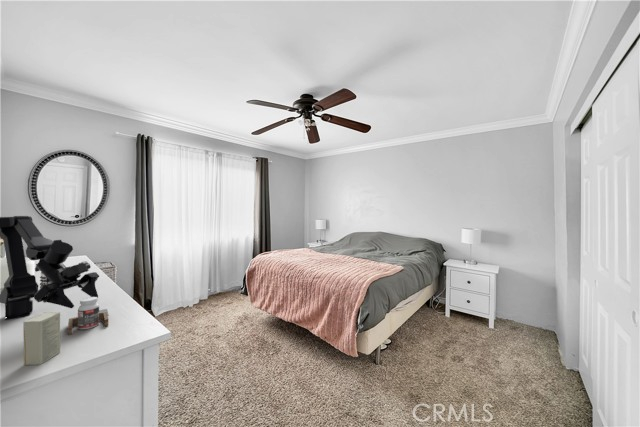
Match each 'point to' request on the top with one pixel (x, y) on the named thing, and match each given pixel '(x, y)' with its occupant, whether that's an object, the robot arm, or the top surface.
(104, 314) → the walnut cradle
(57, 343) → the skincare box
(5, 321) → the top surface
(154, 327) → the top surface
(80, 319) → the pill bottle
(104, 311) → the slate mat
